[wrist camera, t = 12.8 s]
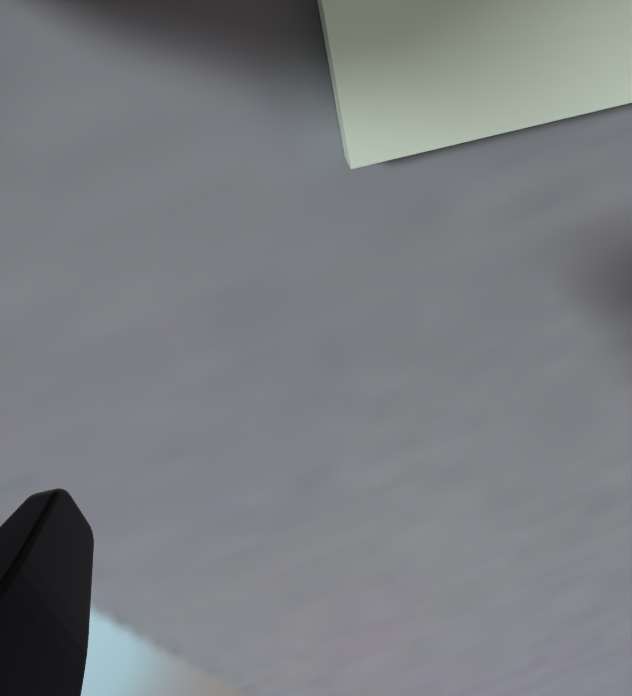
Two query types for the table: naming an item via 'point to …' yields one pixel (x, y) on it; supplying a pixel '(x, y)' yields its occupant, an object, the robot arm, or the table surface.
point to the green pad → (469, 68)
